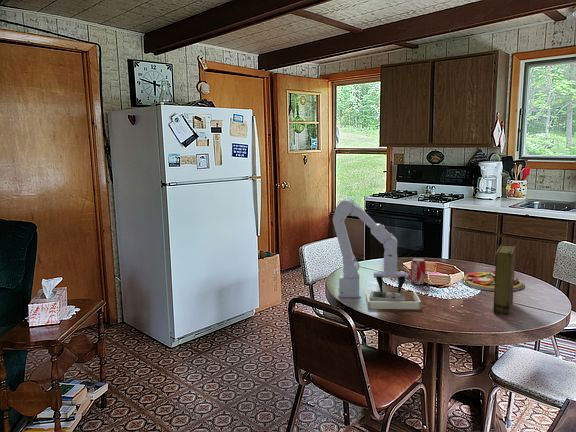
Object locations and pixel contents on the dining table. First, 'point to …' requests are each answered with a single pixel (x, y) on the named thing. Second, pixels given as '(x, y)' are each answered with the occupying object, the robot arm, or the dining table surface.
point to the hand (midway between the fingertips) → (390, 293)
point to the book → (504, 279)
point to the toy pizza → (487, 281)
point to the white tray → (393, 303)
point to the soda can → (418, 270)
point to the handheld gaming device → (386, 296)
